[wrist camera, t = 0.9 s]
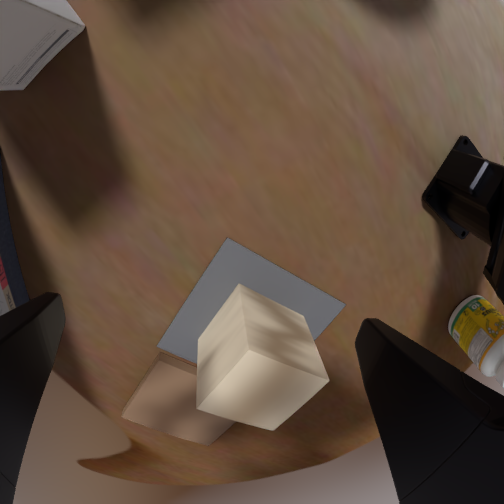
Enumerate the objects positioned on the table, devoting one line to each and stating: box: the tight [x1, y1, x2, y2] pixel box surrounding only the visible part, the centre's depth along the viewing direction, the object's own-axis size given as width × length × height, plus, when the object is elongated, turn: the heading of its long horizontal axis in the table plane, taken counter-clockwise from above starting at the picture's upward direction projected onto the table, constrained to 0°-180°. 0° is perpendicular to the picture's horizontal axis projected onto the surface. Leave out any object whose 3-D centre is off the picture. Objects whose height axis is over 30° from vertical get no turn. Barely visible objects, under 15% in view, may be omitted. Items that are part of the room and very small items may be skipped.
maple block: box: [196, 283, 330, 431], centre depth 22 cm, size 6×6×7 cm
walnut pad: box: [122, 352, 236, 446], centre depth 28 cm, size 10×10×1 cm
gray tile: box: [157, 237, 346, 364], centre depth 25 cm, size 11×11×1 cm
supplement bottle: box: [448, 295, 504, 388], centre depth 24 cm, size 5×5×10 cm
